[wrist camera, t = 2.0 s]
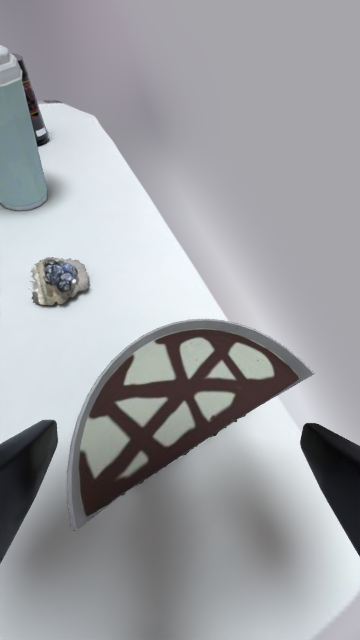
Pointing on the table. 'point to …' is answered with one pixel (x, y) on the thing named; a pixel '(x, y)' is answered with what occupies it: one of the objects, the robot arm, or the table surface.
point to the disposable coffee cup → (17, 142)
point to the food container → (169, 404)
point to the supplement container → (32, 105)
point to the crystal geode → (57, 280)
